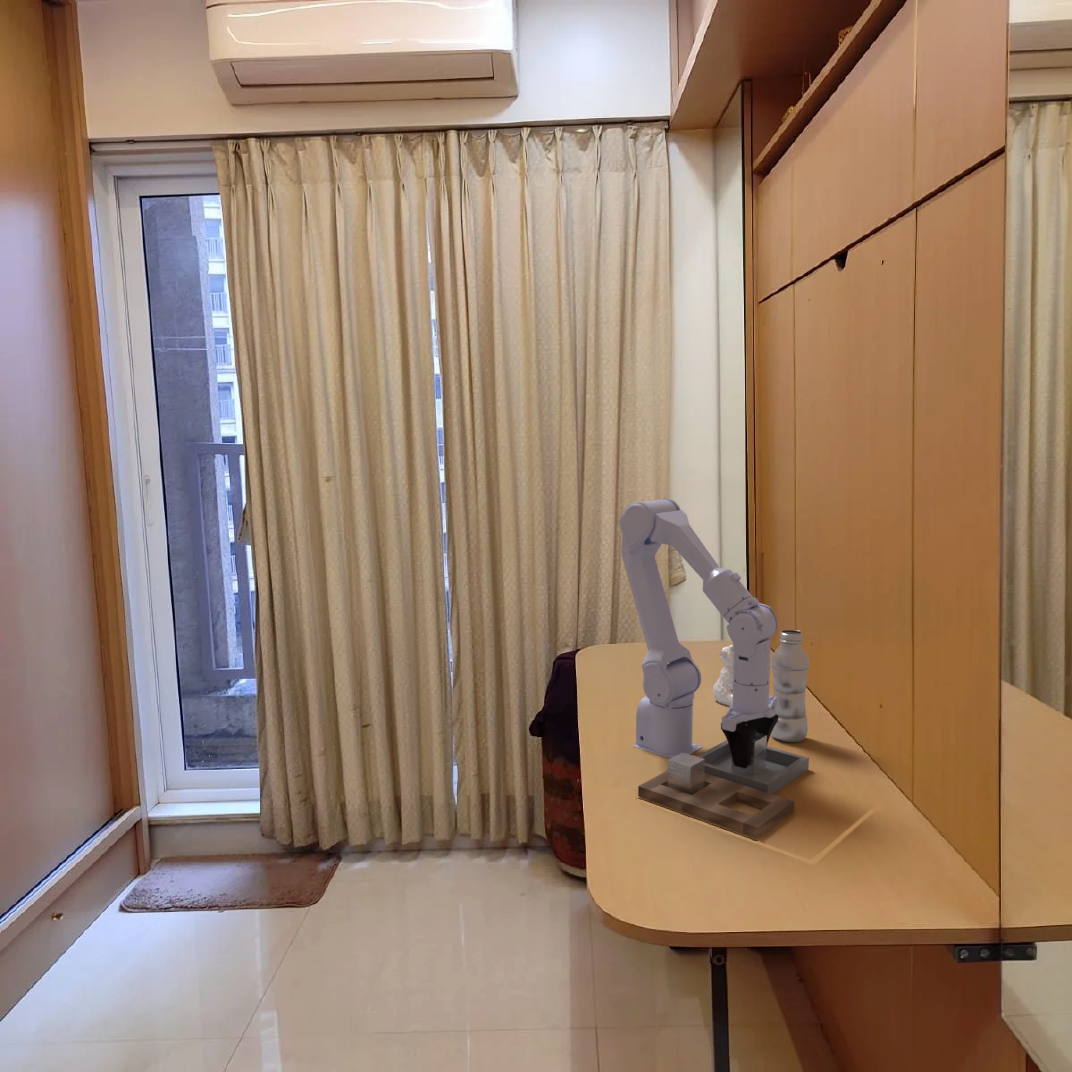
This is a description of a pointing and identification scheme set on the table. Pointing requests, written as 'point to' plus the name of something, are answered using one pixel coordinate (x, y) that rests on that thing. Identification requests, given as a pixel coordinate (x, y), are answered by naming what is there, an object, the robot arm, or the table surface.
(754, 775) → the block
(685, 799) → the wooden board with recesses
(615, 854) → the table surface
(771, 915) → the table surface
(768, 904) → the table surface
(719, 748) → the tray
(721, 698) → the sitting furry creature
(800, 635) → the plastic bottle
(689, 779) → the block
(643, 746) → the robot arm
